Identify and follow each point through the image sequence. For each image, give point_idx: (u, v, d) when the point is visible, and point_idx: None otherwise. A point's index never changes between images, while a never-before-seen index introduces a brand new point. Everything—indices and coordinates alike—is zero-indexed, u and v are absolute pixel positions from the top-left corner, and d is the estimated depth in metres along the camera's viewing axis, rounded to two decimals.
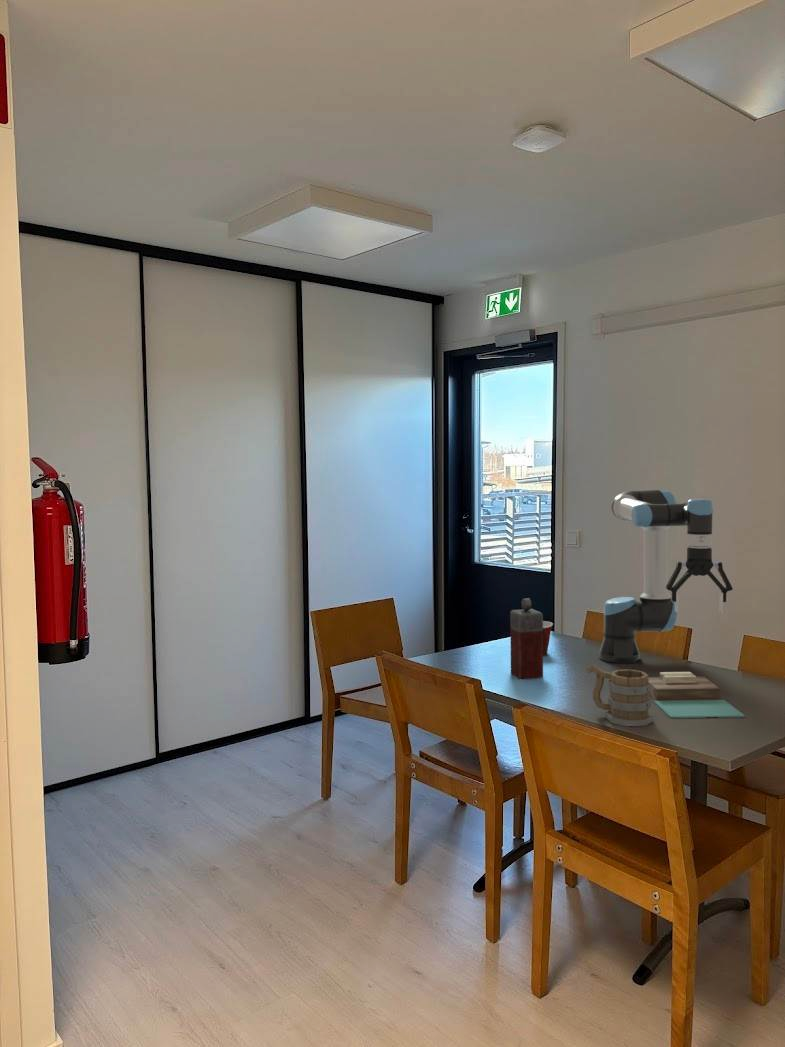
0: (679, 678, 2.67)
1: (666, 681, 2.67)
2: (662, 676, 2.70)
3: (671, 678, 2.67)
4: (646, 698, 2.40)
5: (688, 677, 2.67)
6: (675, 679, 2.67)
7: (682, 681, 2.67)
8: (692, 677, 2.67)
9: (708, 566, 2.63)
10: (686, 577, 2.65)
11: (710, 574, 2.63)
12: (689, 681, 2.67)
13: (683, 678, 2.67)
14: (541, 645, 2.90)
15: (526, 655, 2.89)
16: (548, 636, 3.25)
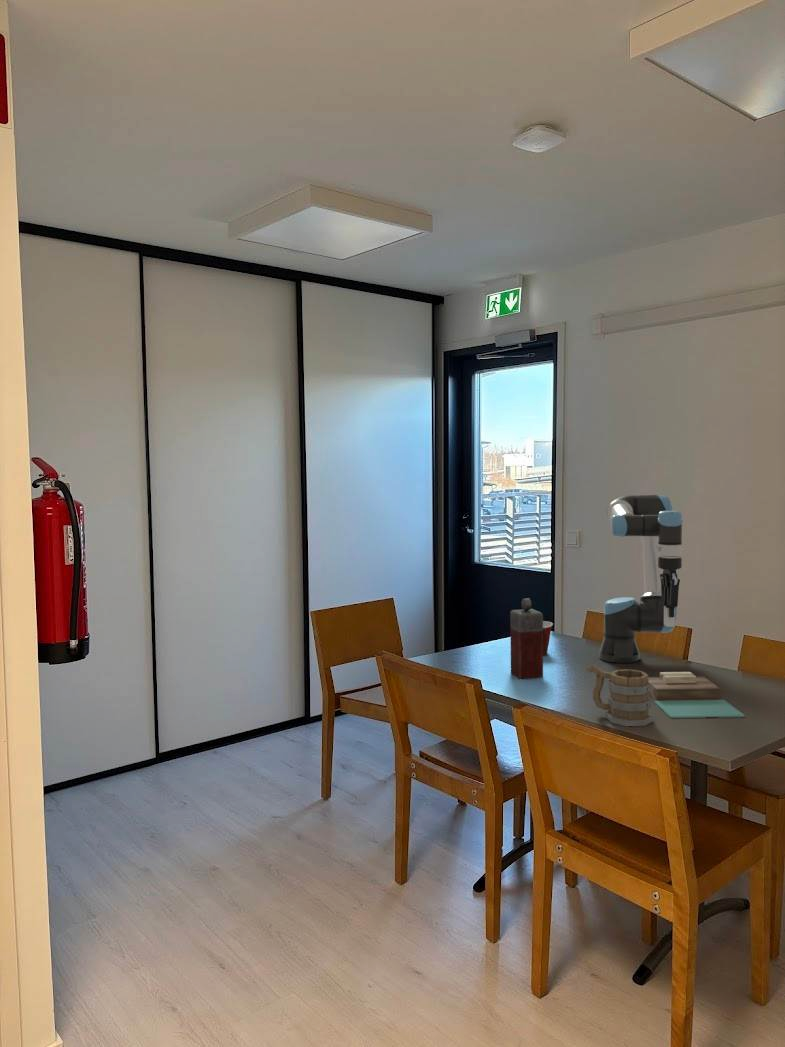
0: (679, 678, 2.67)
1: (666, 681, 2.67)
2: (662, 676, 2.70)
3: (671, 678, 2.67)
4: (646, 698, 2.40)
5: (688, 677, 2.67)
6: (675, 679, 2.67)
7: (682, 681, 2.67)
8: (692, 677, 2.67)
9: (668, 575, 2.74)
10: (664, 587, 2.79)
11: (666, 585, 2.75)
12: (689, 681, 2.67)
13: (683, 678, 2.67)
14: (541, 645, 2.90)
15: (526, 655, 2.89)
16: (548, 636, 3.25)
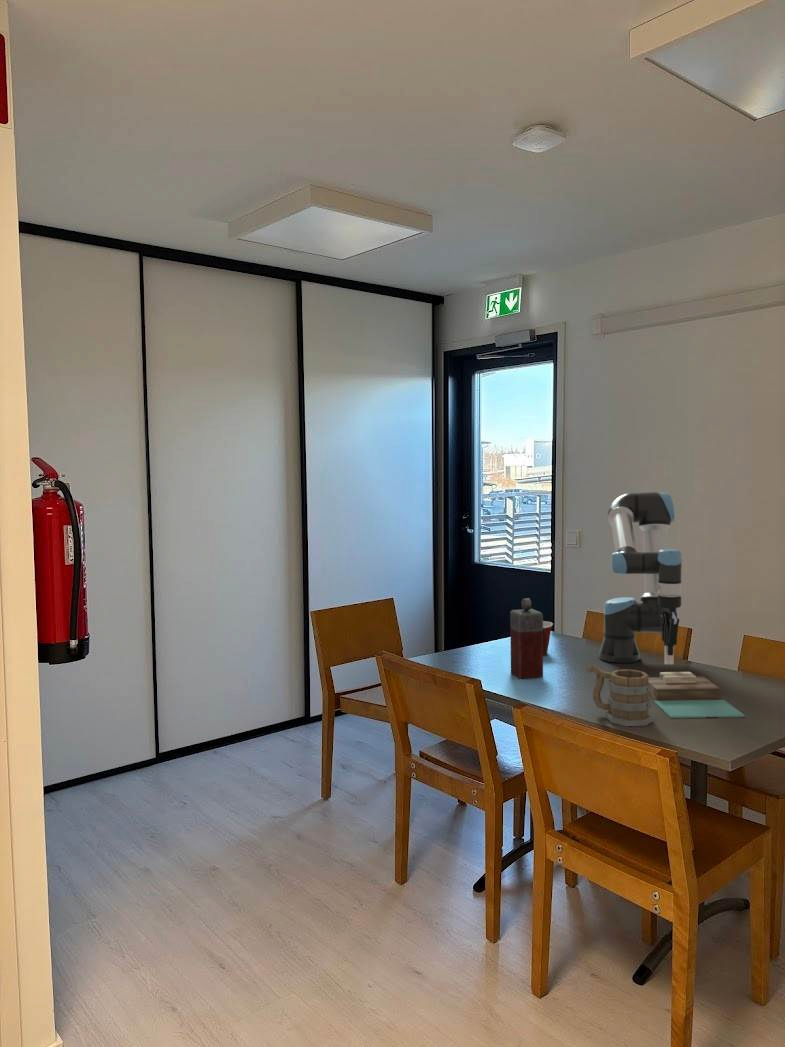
0: (679, 678, 2.67)
1: (666, 681, 2.67)
2: (662, 676, 2.70)
3: (671, 678, 2.67)
4: (646, 698, 2.40)
5: (688, 677, 2.67)
6: (675, 679, 2.67)
7: (682, 681, 2.67)
8: (692, 677, 2.67)
9: (668, 613, 2.75)
10: (664, 626, 2.79)
11: (665, 623, 2.76)
12: (689, 681, 2.67)
13: (683, 678, 2.67)
14: (541, 645, 2.90)
15: (526, 655, 2.89)
16: (548, 636, 3.25)
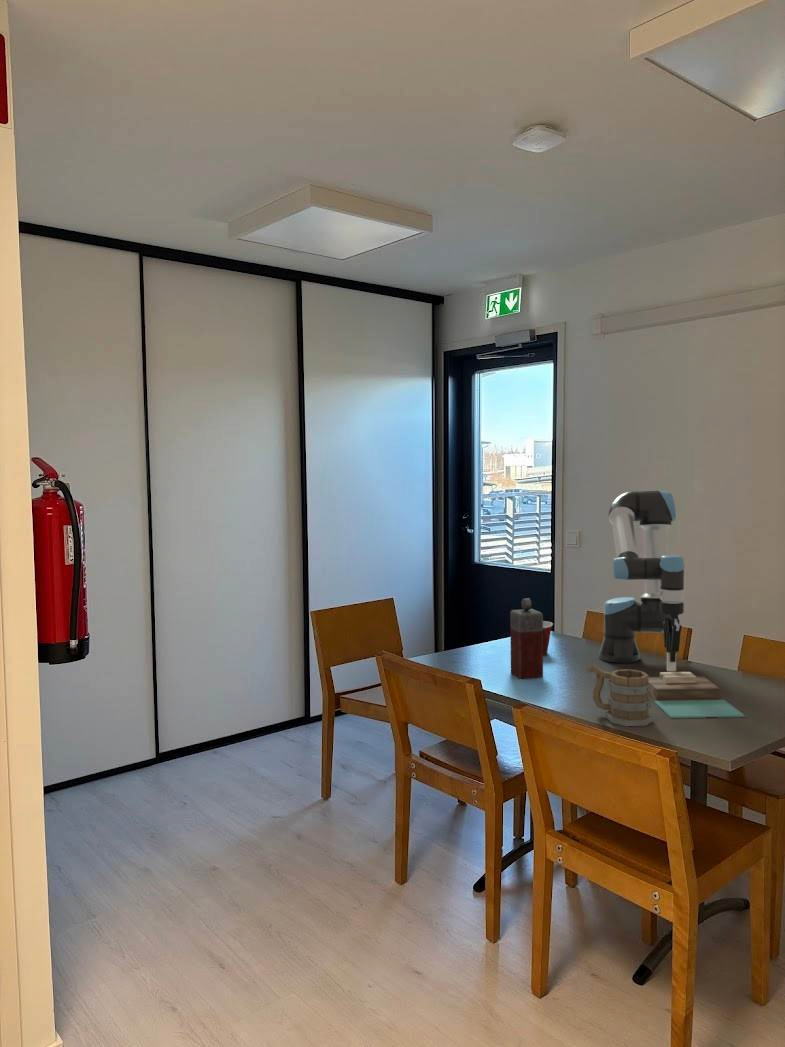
0: (679, 678, 2.67)
1: (666, 681, 2.67)
2: (662, 676, 2.70)
3: (671, 678, 2.67)
4: (646, 698, 2.40)
5: (688, 677, 2.67)
6: (675, 679, 2.67)
7: (682, 681, 2.67)
8: (692, 677, 2.67)
9: (670, 620, 2.73)
10: (666, 632, 2.77)
11: (667, 630, 2.74)
12: (689, 681, 2.67)
13: (683, 678, 2.67)
14: (541, 645, 2.90)
15: (526, 655, 2.89)
16: (548, 636, 3.25)
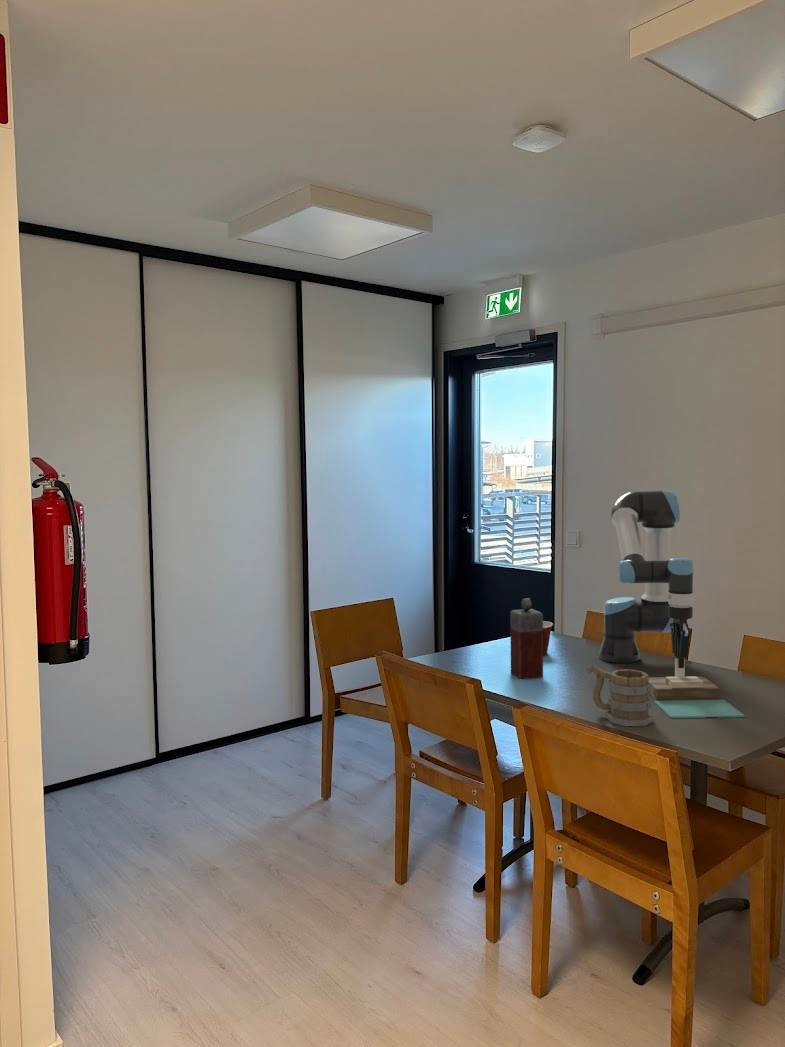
0: (685, 683, 2.61)
1: (672, 686, 2.62)
2: (668, 681, 2.65)
3: (677, 683, 2.61)
4: (646, 698, 2.40)
5: (695, 682, 2.61)
6: (681, 684, 2.61)
7: (688, 686, 2.61)
8: (699, 682, 2.61)
9: (679, 624, 2.64)
10: (675, 637, 2.68)
11: (676, 635, 2.66)
12: (696, 686, 2.61)
13: (690, 683, 2.61)
14: (541, 645, 2.90)
15: (526, 655, 2.89)
16: (548, 636, 3.25)
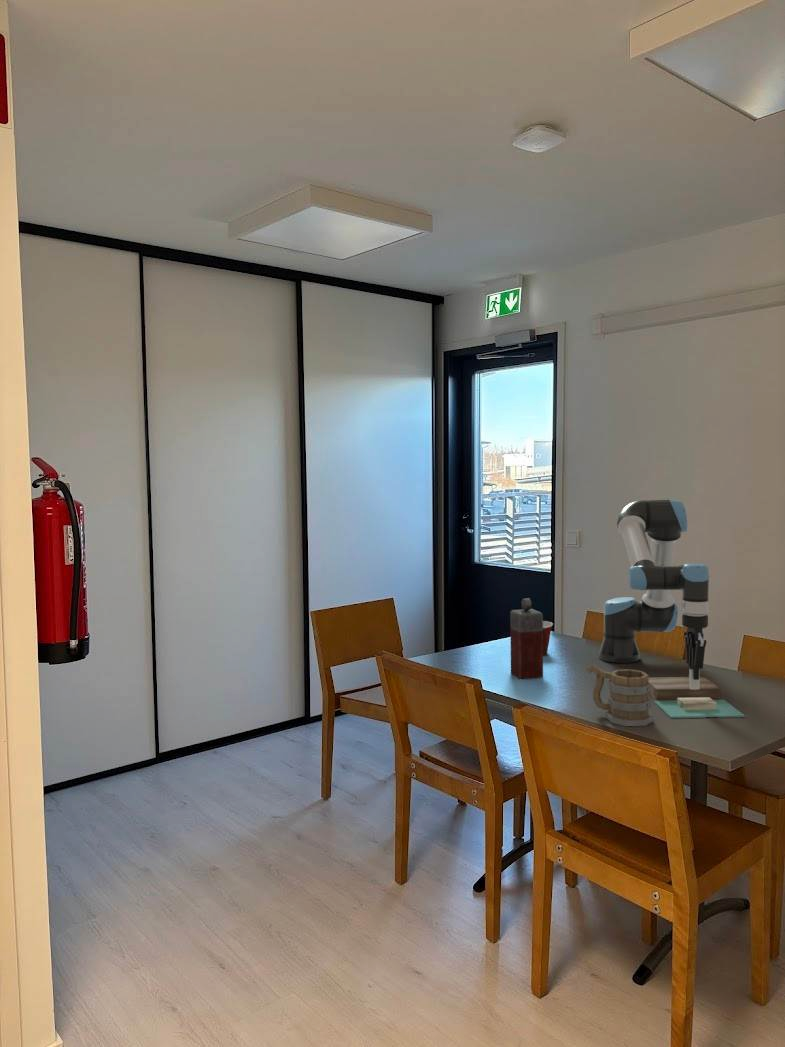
0: None
1: None
2: (680, 705, 2.53)
3: None
4: (646, 698, 2.40)
5: None
6: None
7: None
8: None
9: (694, 634, 2.51)
10: (689, 647, 2.55)
11: (690, 644, 2.53)
12: None
13: None
14: (541, 645, 2.90)
15: (526, 655, 2.89)
16: (548, 636, 3.25)
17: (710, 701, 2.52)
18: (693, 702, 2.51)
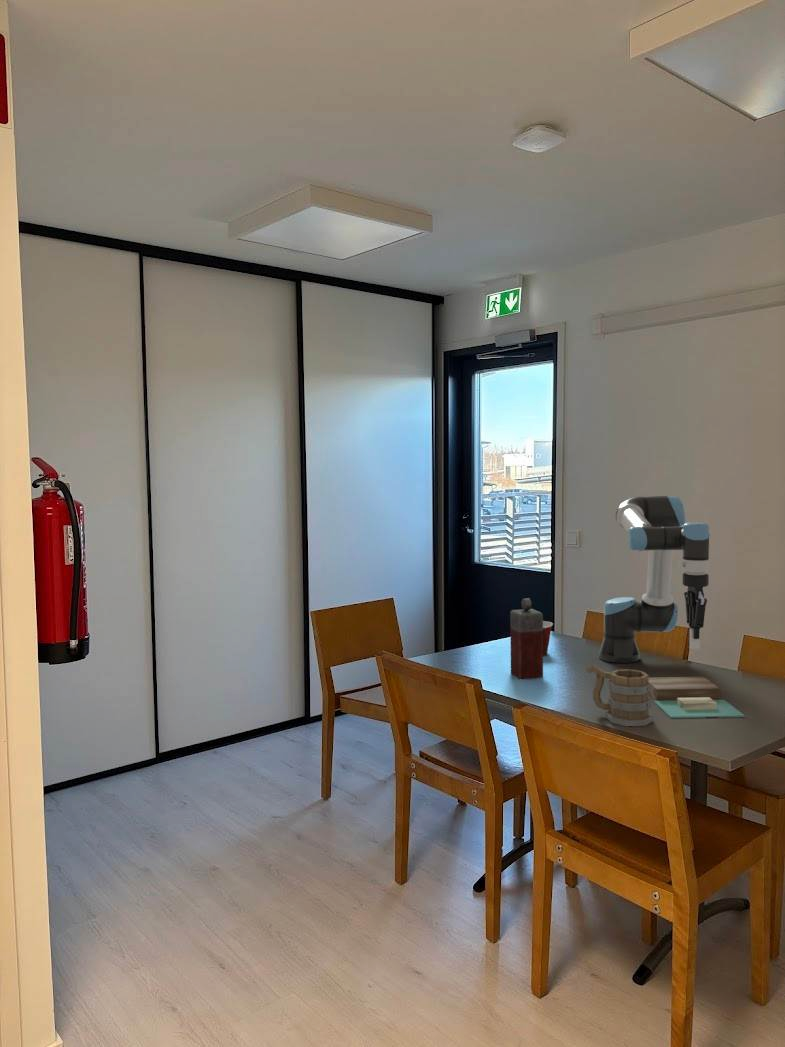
0: None
1: None
2: (680, 705, 2.53)
3: None
4: (646, 698, 2.40)
5: None
6: None
7: None
8: None
9: (694, 593, 2.50)
10: (689, 607, 2.54)
11: (691, 604, 2.52)
12: None
13: None
14: (541, 645, 2.90)
15: (526, 655, 2.89)
16: (548, 636, 3.25)
17: (710, 701, 2.52)
18: (693, 702, 2.51)
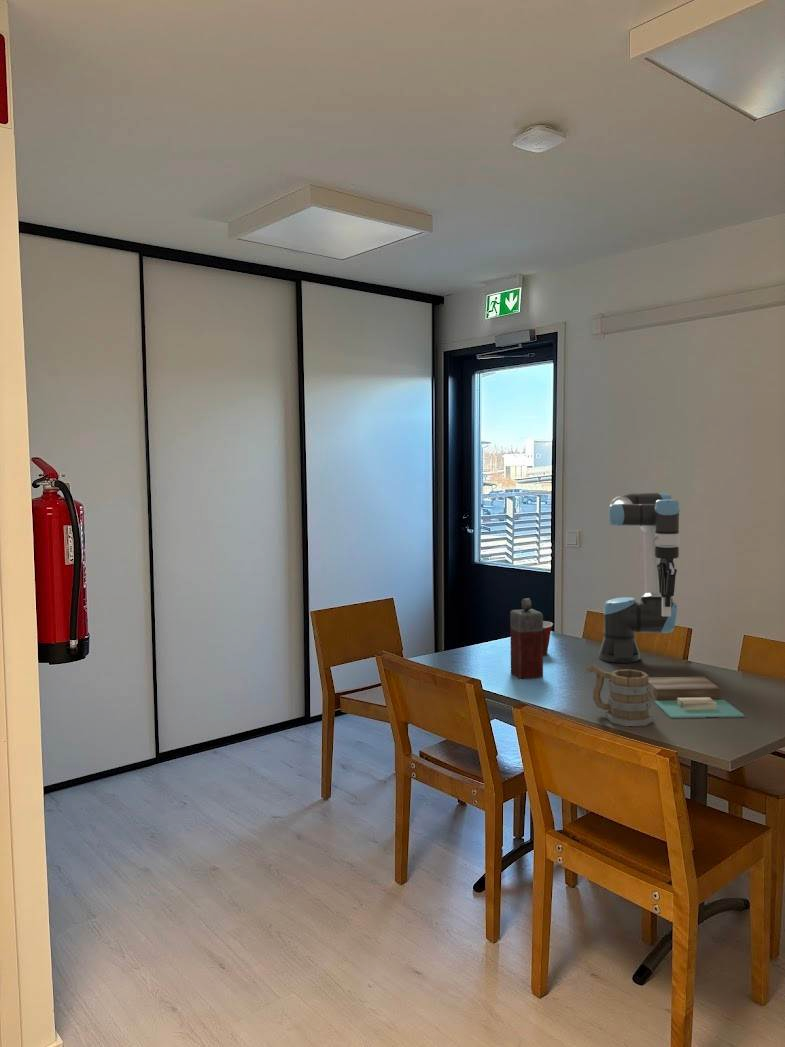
0: None
1: None
2: (680, 705, 2.53)
3: None
4: (646, 698, 2.40)
5: None
6: None
7: None
8: None
9: (665, 564, 2.71)
10: (661, 577, 2.75)
11: (662, 574, 2.72)
12: None
13: None
14: (541, 645, 2.90)
15: (526, 655, 2.89)
16: (548, 636, 3.25)
17: (710, 701, 2.52)
18: (693, 702, 2.51)
